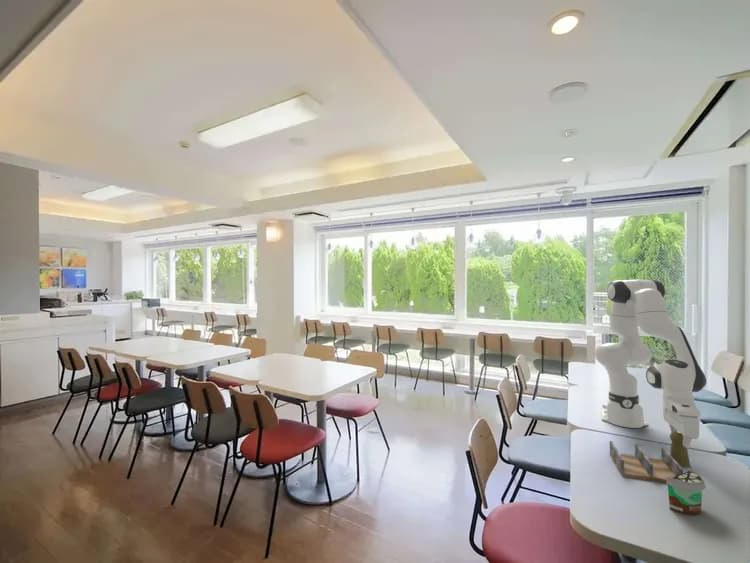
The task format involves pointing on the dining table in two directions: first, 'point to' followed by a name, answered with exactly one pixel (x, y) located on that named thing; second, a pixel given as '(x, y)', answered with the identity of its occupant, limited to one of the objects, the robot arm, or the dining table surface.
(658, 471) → the slot rack
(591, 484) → the dining table surface
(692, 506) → the food container
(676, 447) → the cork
